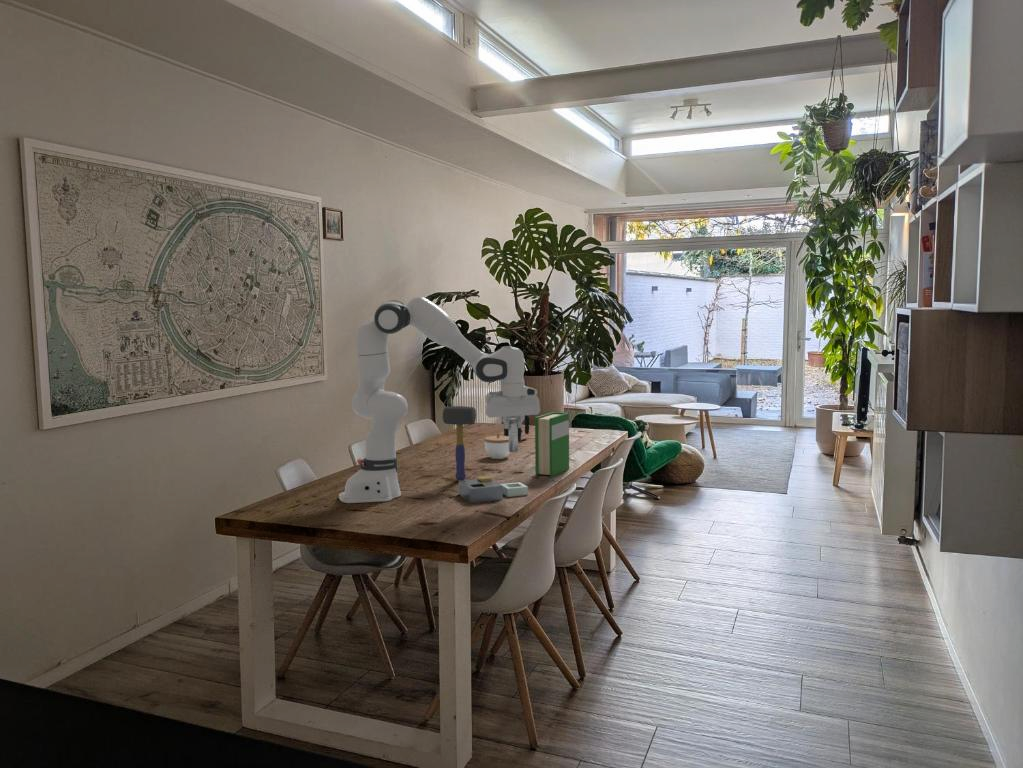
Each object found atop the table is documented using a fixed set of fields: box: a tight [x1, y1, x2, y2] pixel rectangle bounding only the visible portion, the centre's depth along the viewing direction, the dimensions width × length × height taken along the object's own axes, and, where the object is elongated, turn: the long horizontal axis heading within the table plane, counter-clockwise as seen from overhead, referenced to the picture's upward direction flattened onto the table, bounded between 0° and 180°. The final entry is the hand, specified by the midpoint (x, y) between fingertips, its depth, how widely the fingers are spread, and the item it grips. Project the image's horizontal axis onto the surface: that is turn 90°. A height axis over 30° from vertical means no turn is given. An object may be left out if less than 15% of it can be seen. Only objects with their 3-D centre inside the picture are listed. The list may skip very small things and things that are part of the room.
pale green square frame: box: [499, 481, 529, 498], centre depth 285 cm, size 8×8×3 cm
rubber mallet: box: [442, 405, 477, 482], centre depth 305 cm, size 12×8×30 cm, turn 77°
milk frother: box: [503, 415, 530, 441], centre depth 405 cm, size 14×16×15 cm
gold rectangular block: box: [476, 475, 493, 482], centre depth 285 cm, size 4×4×6 cm
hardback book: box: [534, 411, 570, 478], centre depth 320 cm, size 18×7×24 cm, turn 153°
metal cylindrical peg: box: [508, 418, 519, 453], centre depth 283 cm, size 4×4×12 cm
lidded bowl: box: [484, 433, 511, 460], centre depth 353 cm, size 13×13×11 cm
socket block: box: [458, 478, 504, 504], centre depth 280 cm, size 12×14×5 cm
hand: (513, 428), depth 283 cm, fingers closed on metal cylindrical peg, 3 cm apart
